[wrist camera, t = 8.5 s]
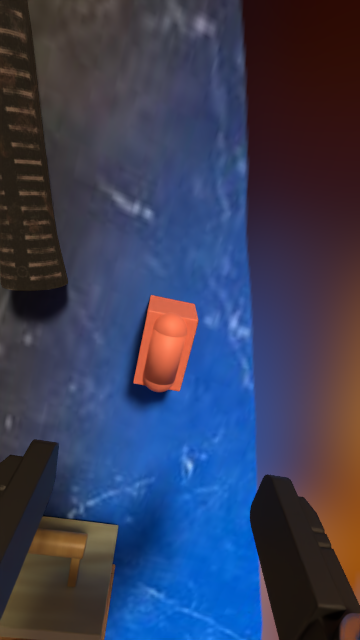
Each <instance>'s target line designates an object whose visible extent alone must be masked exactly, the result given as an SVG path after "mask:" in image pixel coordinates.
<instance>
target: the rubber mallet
mask: <svg viewBox="0 0 360 640" xmlns="http://www.w3.org/2000/svg"><path fill="white" fill-rule="evenodd" d="M0 276H1V285H2V287H4V288H6V289H10V290H18V291H37V290H48V289H55V288H59V287H62V286H64V285H66V284H68V279H67V274H66V270H65V266H64V262H63V258H62V254H61V250H60V246H59V241H58V236H57V231H56V226H55V220H54V213H53V206H52V199H51V191H50V183H49V175H48V167H47V159H46V151H45V143H44V135H43V128H42V120H41V112H40V103H39V95H38V86H37V76H36V67H35V58H34V49H33V40H32V32H31V25H30V18H29V11H28V4H27V0H0Z"/></svg>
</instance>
